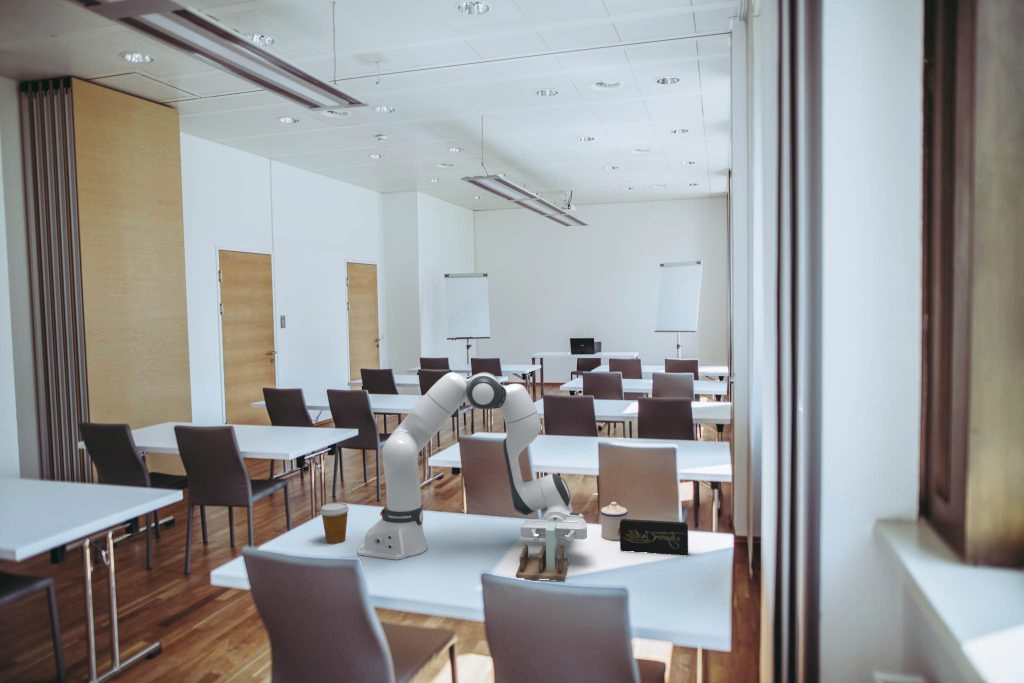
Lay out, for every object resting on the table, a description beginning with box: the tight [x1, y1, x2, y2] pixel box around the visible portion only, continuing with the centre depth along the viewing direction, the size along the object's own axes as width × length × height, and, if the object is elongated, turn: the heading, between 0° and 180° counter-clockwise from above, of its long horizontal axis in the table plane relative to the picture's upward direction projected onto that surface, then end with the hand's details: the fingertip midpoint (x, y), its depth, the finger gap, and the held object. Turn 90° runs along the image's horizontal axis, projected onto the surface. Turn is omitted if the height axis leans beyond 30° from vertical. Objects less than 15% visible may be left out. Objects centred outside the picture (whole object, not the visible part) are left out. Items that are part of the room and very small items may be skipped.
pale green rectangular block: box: [545, 523, 558, 571], centre depth 198 cm, size 2×7×12 cm, turn 170°
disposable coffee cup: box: [319, 502, 350, 545], centre depth 231 cm, size 10×10×12 cm
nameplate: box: [619, 518, 689, 556], centre depth 212 cm, size 21×2×10 cm, turn 75°
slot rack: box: [515, 544, 569, 583], centre depth 199 cm, size 14×14×6 cm
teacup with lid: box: [600, 501, 629, 541], centre depth 228 cm, size 12×9×12 cm
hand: (551, 538), depth 199 cm, fingers open, 8 cm apart
